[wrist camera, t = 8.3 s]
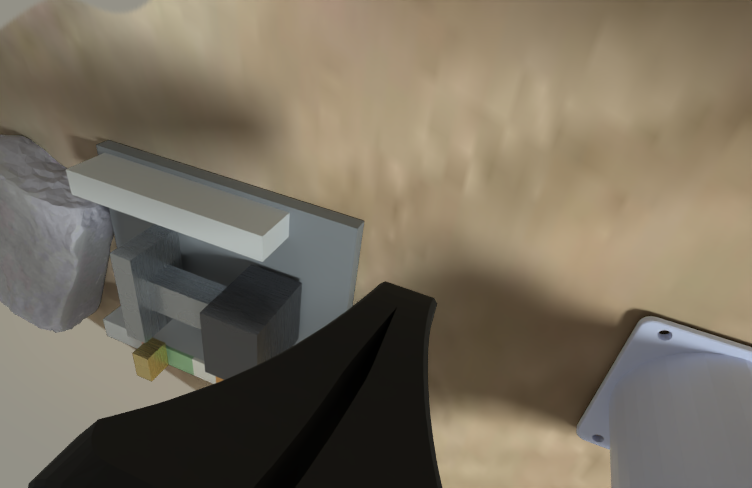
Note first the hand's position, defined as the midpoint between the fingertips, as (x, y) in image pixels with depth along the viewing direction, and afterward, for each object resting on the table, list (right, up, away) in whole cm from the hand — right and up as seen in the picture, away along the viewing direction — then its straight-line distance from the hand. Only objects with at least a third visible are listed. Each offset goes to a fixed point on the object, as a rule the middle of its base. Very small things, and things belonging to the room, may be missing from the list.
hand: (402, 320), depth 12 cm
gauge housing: (-9, 0, +16) cm, 18 cm away
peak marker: (-13, -4, +16) cm, 21 cm away
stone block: (-22, +4, +21) cm, 30 cm away
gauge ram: (-9, -1, +16) cm, 18 cm away
